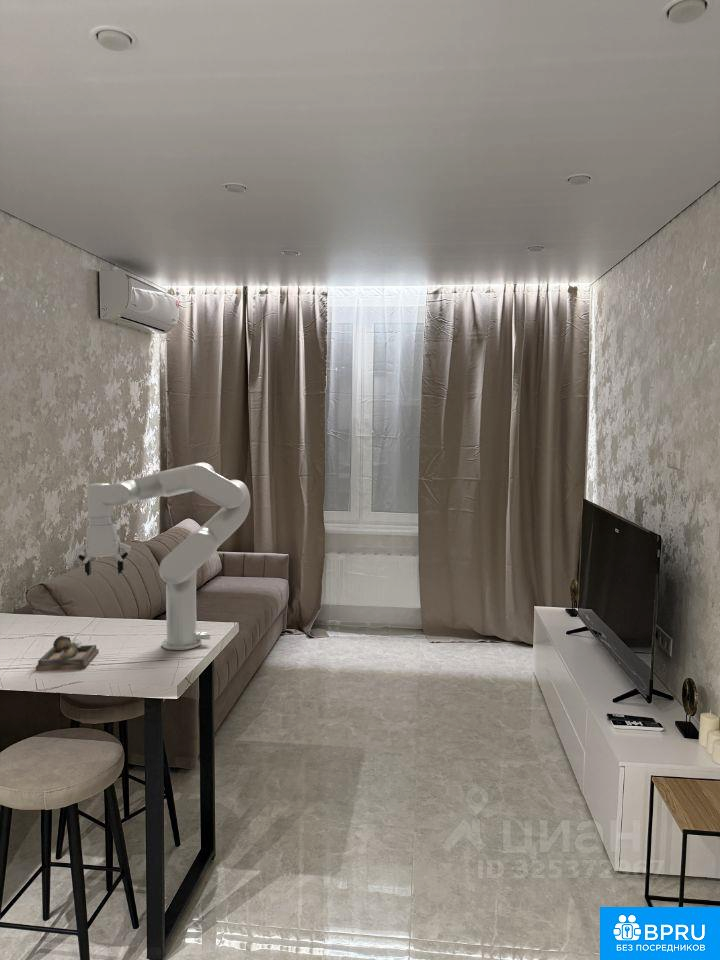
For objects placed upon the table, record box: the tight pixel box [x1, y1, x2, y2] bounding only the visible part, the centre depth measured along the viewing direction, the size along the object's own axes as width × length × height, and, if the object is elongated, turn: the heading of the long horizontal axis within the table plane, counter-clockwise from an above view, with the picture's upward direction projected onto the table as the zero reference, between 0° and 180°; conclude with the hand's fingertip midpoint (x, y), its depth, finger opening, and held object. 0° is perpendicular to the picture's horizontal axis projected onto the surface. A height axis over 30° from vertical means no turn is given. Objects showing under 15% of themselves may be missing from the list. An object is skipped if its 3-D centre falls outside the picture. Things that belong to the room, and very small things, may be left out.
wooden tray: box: [35, 644, 100, 671], centre depth 218 cm, size 14×15×3 cm
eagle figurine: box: [52, 635, 83, 659], centre depth 216 cm, size 8×7×9 cm
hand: (104, 573), depth 232 cm, fingers open, 9 cm apart
